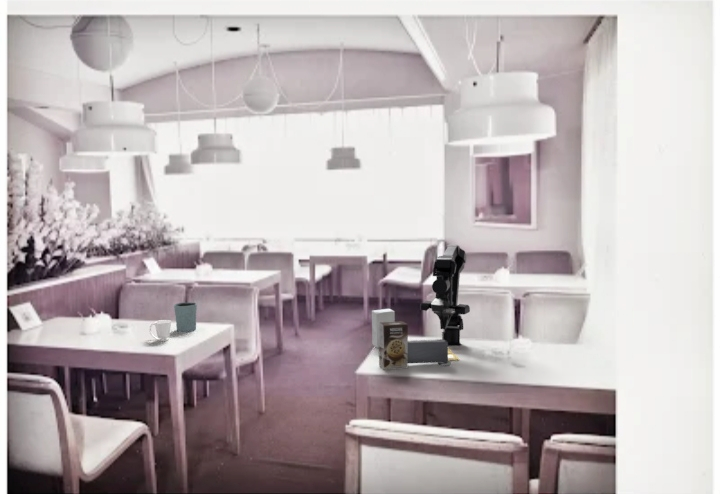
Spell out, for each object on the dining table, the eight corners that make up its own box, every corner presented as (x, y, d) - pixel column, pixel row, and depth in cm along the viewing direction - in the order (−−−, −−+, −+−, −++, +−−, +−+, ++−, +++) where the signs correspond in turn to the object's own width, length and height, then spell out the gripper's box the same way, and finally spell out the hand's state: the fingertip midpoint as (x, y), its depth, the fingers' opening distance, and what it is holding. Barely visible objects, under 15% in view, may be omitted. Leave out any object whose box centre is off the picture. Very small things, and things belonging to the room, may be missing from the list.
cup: (166, 342, 267) (165, 323, 267) (145, 341, 270) (144, 322, 269) (175, 338, 274) (174, 320, 274) (154, 337, 277) (154, 319, 276)
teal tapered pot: (181, 333, 284) (180, 306, 283) (171, 329, 292) (170, 304, 291) (201, 329, 291) (200, 304, 290) (191, 326, 298) (190, 301, 297)
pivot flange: (449, 362, 234) (449, 360, 234) (452, 365, 229) (452, 364, 229) (436, 362, 234) (436, 360, 234) (438, 366, 229) (438, 364, 229)
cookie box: (384, 370, 224) (383, 325, 223) (378, 365, 230) (378, 321, 229) (408, 368, 226) (408, 323, 225) (402, 363, 233) (402, 320, 231)
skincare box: (390, 343, 263) (389, 308, 262) (395, 346, 257) (395, 310, 256) (371, 345, 260) (371, 309, 259) (376, 348, 255) (376, 312, 253)
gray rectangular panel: (446, 360, 232) (446, 339, 232) (447, 362, 230) (447, 340, 230) (404, 362, 231) (404, 340, 230) (405, 363, 229) (405, 341, 228)
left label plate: (454, 354, 244) (454, 353, 244) (459, 360, 236) (459, 359, 236) (439, 355, 244) (439, 354, 243) (443, 360, 236) (443, 359, 236)
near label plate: (448, 349, 253) (448, 347, 253) (452, 354, 245) (452, 353, 245) (433, 349, 252) (433, 348, 252) (437, 354, 244) (437, 353, 244)
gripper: (413, 291, 243) (414, 331, 244) (459, 295, 233) (459, 336, 235) (426, 286, 252) (426, 325, 254) (470, 290, 243) (470, 330, 244)
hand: (444, 329), depth 247 cm, fingers closed
